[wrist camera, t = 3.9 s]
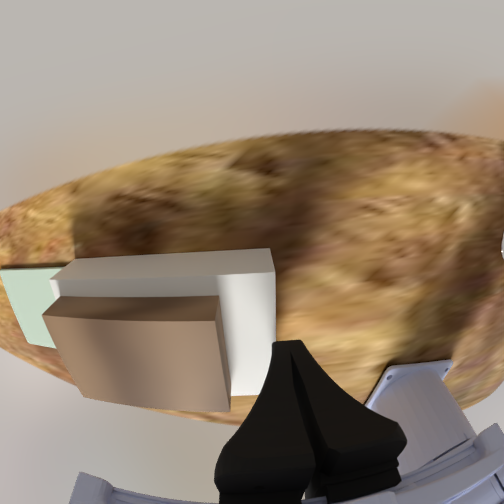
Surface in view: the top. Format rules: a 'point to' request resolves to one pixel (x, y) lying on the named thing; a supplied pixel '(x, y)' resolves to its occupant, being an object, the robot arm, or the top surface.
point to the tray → (195, 284)
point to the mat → (31, 300)
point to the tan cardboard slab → (144, 350)
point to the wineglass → (502, 246)
